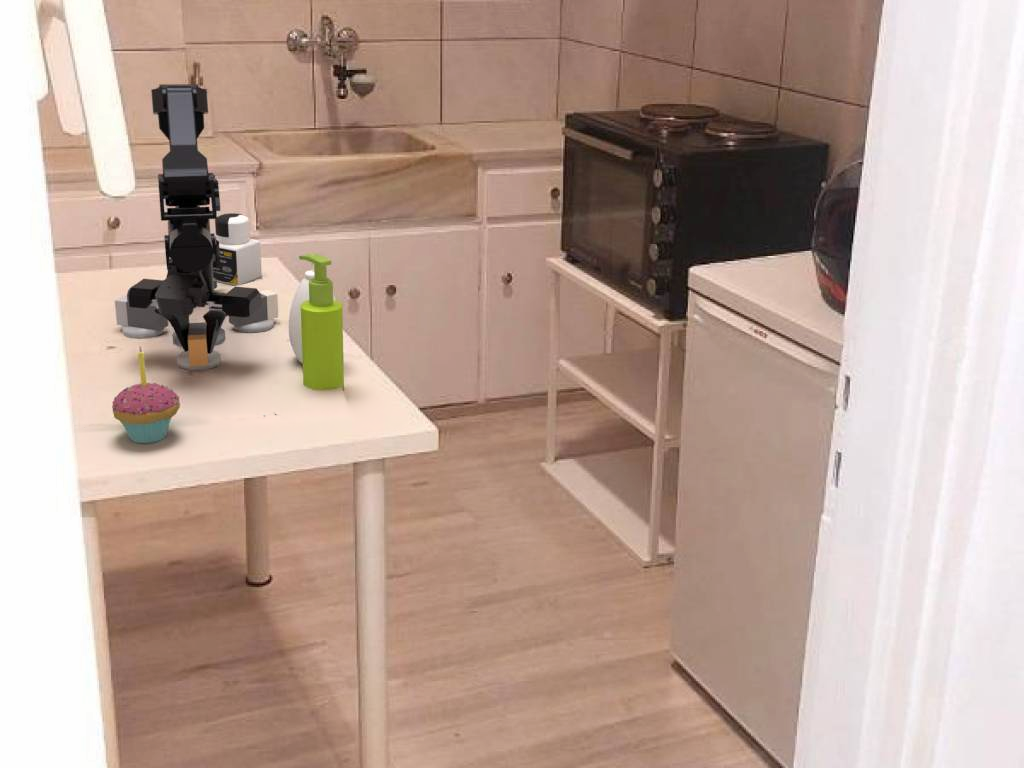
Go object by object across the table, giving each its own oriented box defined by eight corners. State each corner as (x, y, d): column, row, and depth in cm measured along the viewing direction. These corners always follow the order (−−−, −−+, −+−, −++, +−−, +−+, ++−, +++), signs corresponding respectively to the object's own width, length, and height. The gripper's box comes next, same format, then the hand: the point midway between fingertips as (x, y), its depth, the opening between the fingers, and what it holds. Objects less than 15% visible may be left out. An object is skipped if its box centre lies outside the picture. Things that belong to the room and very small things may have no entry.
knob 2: (244, 336, 188) (242, 306, 186) (223, 325, 192) (221, 295, 190) (285, 326, 193) (283, 296, 191) (263, 315, 197) (262, 286, 195)
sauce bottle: (350, 372, 179) (348, 258, 172) (303, 381, 175) (298, 265, 168) (329, 355, 185) (326, 244, 178) (282, 364, 181) (277, 251, 174)
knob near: (175, 327, 191) (173, 297, 189) (153, 340, 185) (150, 310, 183) (133, 321, 192) (130, 292, 191) (110, 334, 187) (107, 304, 185)
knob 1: (177, 354, 180) (175, 323, 178) (220, 352, 181) (218, 321, 179) (176, 373, 173) (174, 340, 171) (221, 370, 175) (219, 338, 173)
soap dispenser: (324, 376, 177) (320, 248, 169) (352, 390, 173) (349, 259, 165) (291, 386, 173) (286, 255, 165) (319, 400, 169) (315, 266, 161)
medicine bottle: (207, 280, 218) (203, 216, 213) (232, 270, 224) (229, 208, 219) (237, 286, 215) (233, 222, 210) (262, 277, 221) (259, 214, 216)
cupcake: (112, 427, 158) (104, 343, 154) (177, 419, 161) (171, 337, 157) (118, 453, 151) (109, 367, 146) (186, 445, 154) (179, 360, 149)
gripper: (104, 262, 164) (115, 365, 170) (232, 273, 162) (238, 377, 168) (139, 240, 175) (148, 339, 181) (260, 250, 172) (265, 350, 178)
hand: (198, 351), depth 177 cm, fingers closed on knob 1, 3 cm apart
